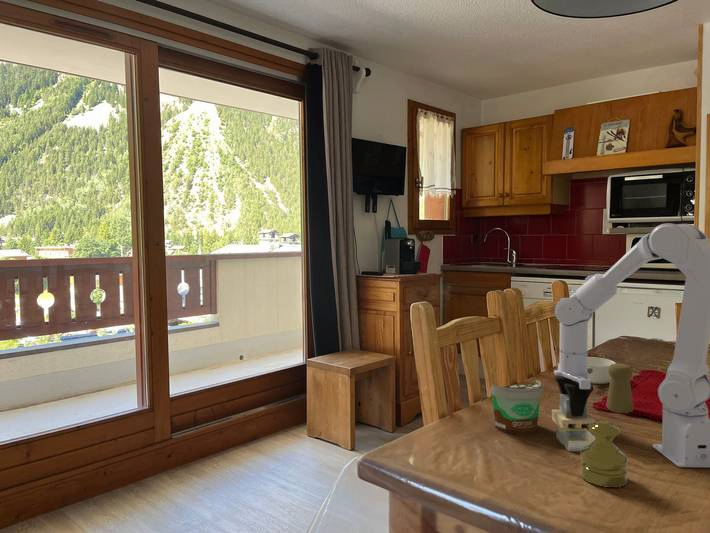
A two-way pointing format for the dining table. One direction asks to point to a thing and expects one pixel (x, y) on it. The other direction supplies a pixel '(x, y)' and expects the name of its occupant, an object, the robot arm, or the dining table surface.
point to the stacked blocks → (570, 415)
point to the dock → (574, 438)
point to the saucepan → (599, 370)
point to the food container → (517, 407)
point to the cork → (620, 389)
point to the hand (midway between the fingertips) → (572, 412)
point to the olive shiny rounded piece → (604, 457)
